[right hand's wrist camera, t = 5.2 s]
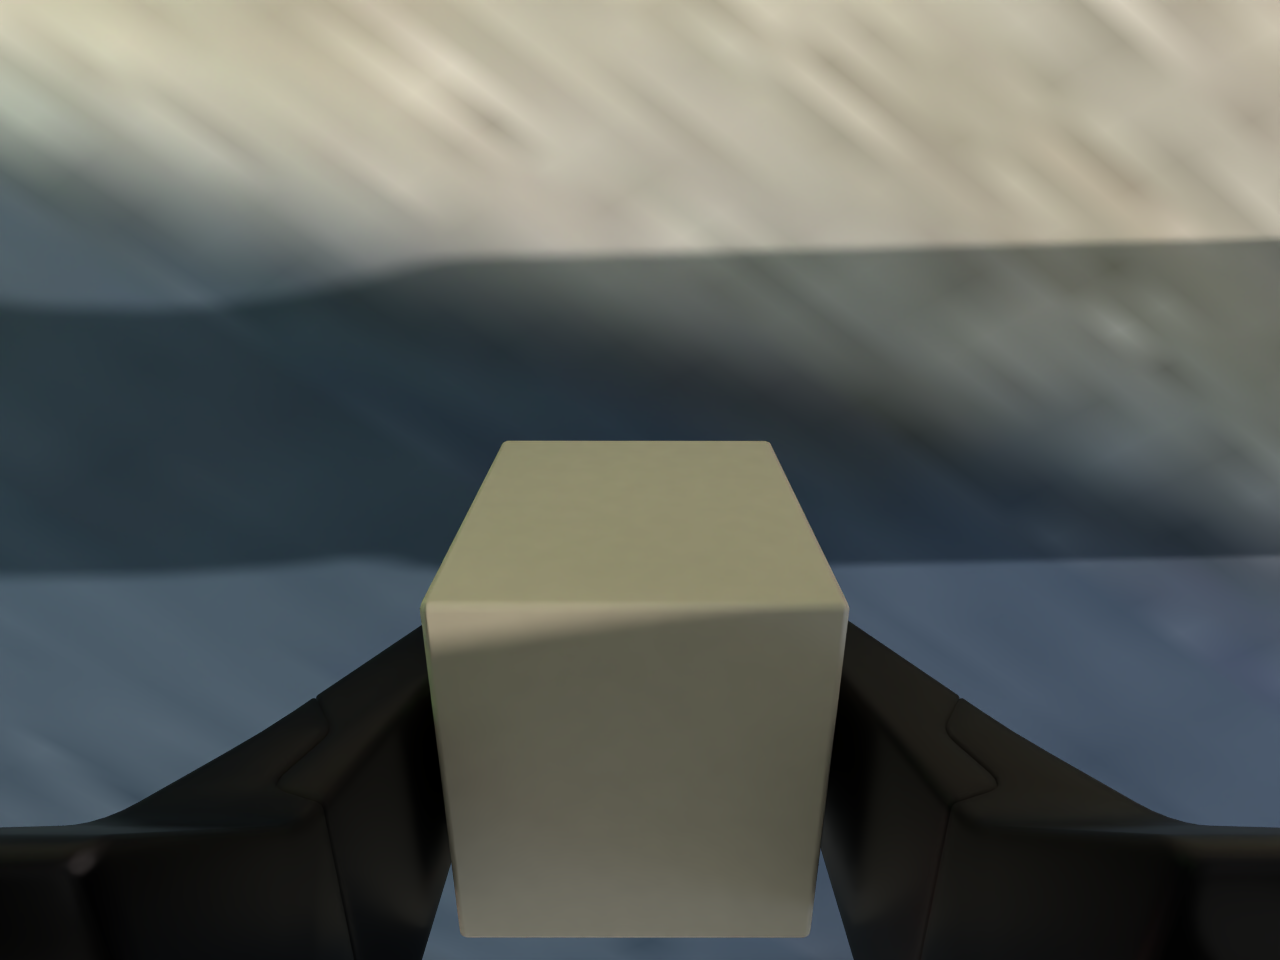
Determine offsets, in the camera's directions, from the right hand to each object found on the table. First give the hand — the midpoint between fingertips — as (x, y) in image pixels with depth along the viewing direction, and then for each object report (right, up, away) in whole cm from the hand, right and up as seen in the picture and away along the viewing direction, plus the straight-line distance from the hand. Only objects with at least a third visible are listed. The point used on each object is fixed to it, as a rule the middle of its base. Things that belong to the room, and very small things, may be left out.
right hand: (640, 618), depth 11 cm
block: (0, +1, +1) cm, 1 cm away
